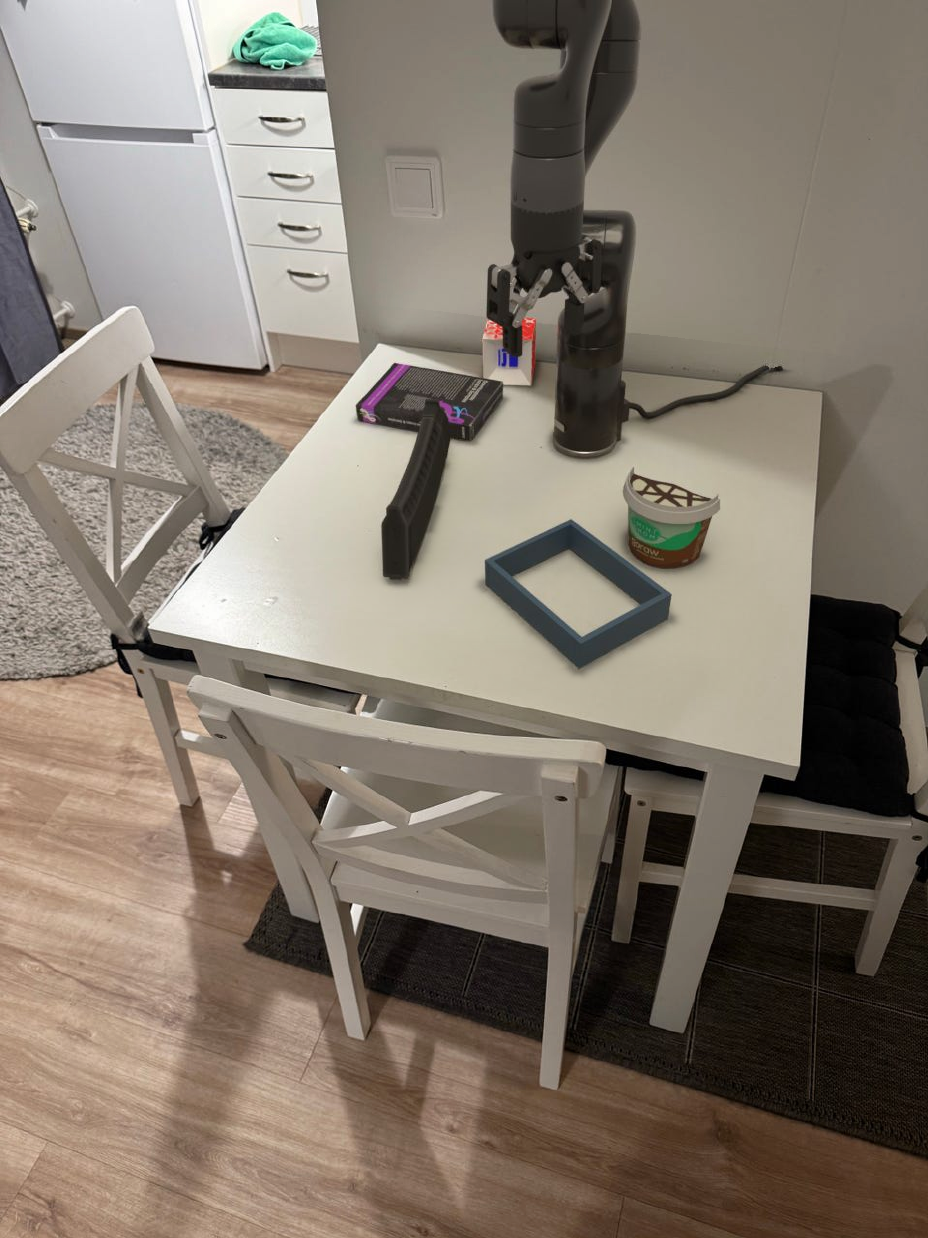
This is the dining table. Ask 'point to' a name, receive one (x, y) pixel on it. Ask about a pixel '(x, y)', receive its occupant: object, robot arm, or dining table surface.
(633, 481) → the food container
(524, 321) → the white and red cube
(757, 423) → the dining table surface
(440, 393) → the box
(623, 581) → the blue rectangular frame
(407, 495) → the magazine
